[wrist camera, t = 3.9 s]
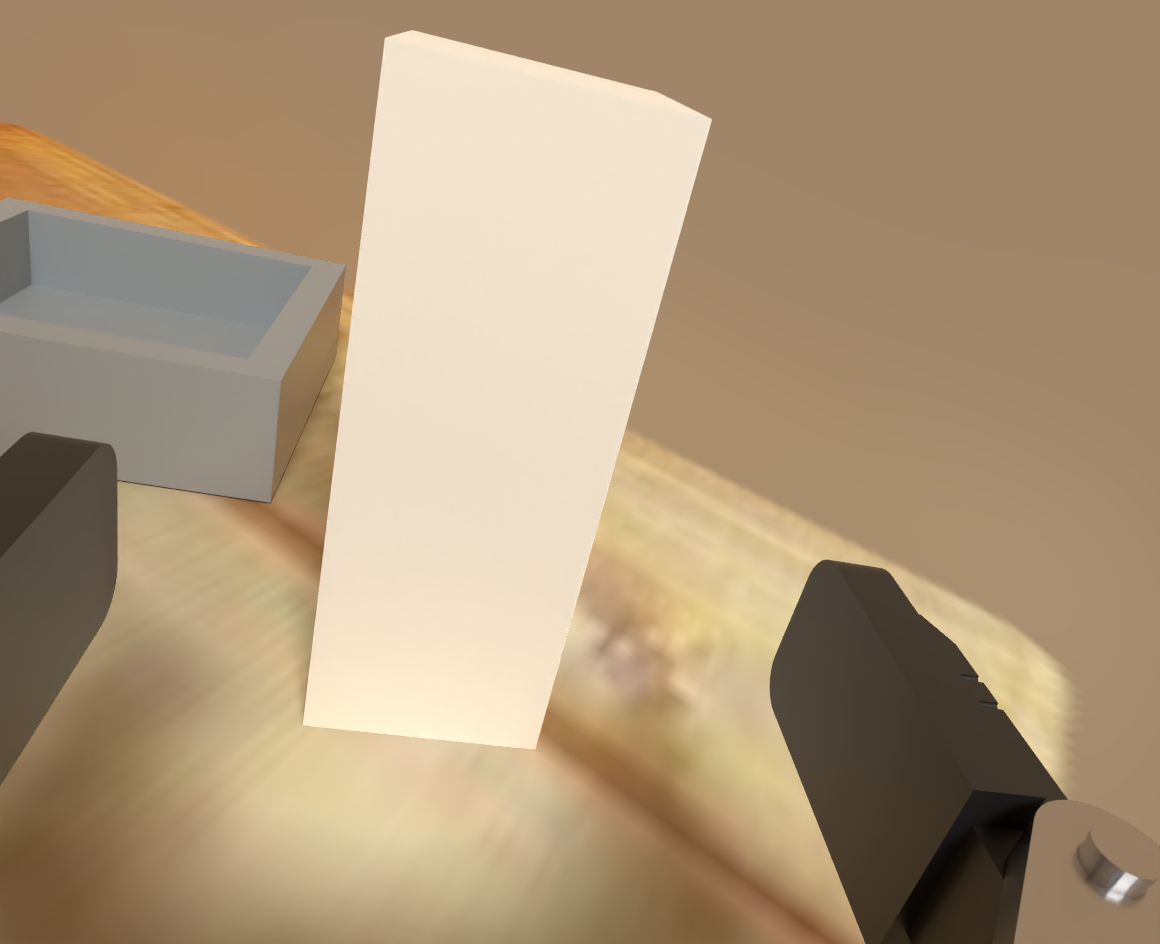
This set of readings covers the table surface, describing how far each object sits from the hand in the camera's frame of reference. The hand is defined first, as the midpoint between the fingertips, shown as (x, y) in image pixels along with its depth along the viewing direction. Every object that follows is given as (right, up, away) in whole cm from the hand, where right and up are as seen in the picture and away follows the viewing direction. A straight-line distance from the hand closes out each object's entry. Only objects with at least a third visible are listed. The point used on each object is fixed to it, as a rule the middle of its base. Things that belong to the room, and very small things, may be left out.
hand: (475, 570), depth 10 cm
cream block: (-2, -3, +9) cm, 10 cm away
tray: (-13, +4, +17) cm, 21 cm away
